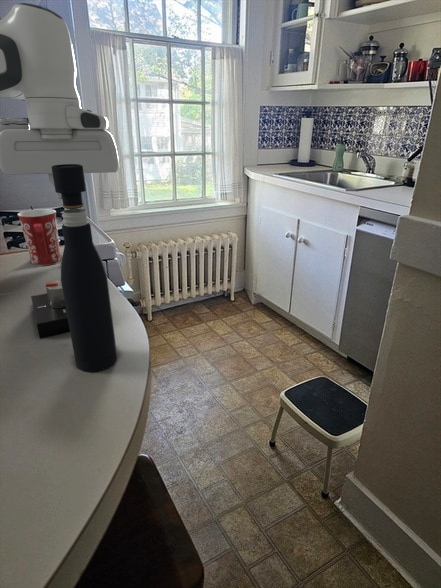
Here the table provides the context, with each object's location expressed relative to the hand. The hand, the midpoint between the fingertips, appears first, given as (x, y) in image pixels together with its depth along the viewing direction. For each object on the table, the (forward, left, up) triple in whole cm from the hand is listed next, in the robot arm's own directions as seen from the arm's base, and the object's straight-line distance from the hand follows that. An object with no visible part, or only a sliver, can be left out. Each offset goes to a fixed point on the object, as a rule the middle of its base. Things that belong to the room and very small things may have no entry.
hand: (67, 198), depth 74 cm
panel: (-5, -5, -22) cm, 23 cm away
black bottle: (-2, -23, -22) cm, 32 cm away
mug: (-5, +29, -22) cm, 36 cm away
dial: (-5, -5, -19) cm, 20 cm away
